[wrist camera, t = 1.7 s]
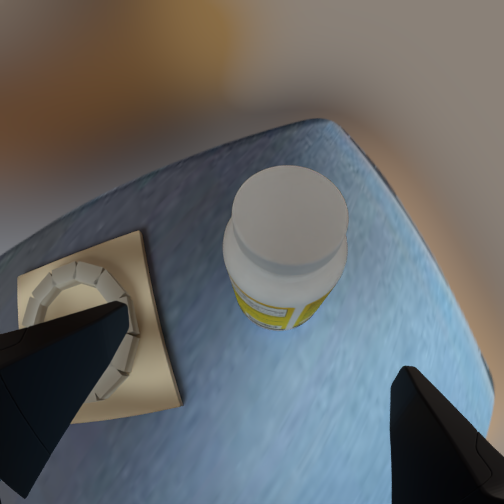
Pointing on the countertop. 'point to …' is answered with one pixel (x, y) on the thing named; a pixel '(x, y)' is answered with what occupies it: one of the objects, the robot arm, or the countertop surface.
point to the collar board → (136, 339)
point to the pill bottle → (285, 245)
